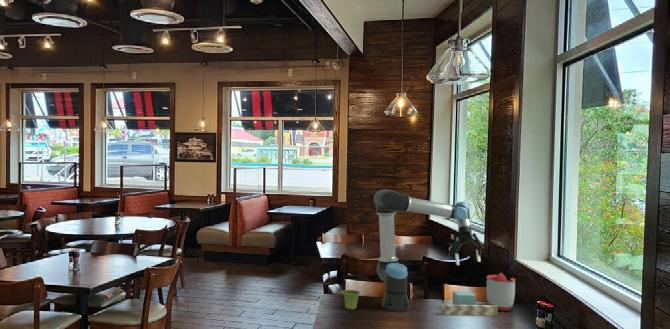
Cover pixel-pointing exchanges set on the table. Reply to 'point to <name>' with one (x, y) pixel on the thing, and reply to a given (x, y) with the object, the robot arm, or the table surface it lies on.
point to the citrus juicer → (500, 291)
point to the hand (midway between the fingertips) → (468, 263)
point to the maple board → (470, 310)
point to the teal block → (463, 298)
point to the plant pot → (351, 298)
